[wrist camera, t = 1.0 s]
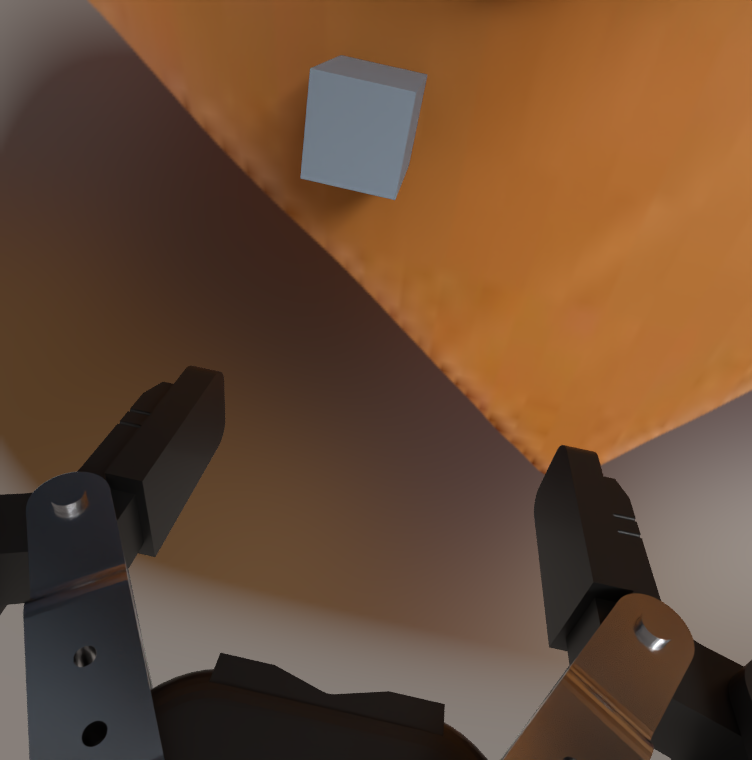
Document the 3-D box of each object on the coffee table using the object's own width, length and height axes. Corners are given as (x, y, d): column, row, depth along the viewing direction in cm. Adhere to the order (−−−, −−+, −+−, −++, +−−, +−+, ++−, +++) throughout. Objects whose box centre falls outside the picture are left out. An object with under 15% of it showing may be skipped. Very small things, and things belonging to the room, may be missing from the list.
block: (341, 55, 30) (310, 68, 25) (427, 74, 30) (416, 92, 24) (330, 147, 33) (300, 178, 28) (408, 165, 33) (395, 199, 27)
